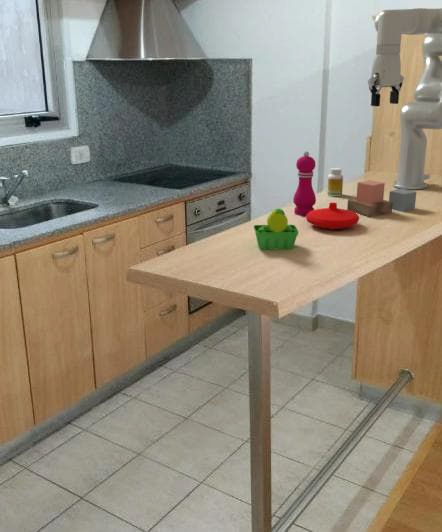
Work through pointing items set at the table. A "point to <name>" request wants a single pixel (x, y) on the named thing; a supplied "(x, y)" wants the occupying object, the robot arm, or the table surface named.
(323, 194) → the table surface
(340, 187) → the supplement bottle
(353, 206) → the walnut block
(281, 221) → the fruit basket
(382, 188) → the salmon pink cube
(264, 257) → the table surface
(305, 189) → the pepper mill
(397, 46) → the robot arm
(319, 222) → the flat cone with hole
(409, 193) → the grey cube
